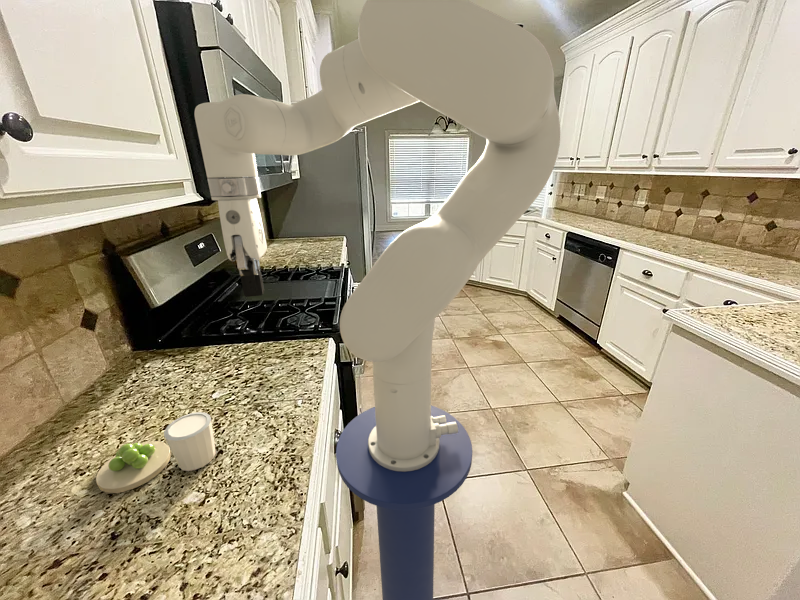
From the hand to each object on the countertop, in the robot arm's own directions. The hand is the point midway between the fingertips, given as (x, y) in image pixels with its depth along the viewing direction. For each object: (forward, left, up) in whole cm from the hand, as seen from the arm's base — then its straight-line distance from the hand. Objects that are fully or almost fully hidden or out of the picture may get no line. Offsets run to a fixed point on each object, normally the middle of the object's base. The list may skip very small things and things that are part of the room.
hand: (254, 294), depth 63 cm
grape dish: (+21, +11, -25) cm, 34 cm away
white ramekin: (+11, +11, -25) cm, 30 cm away
